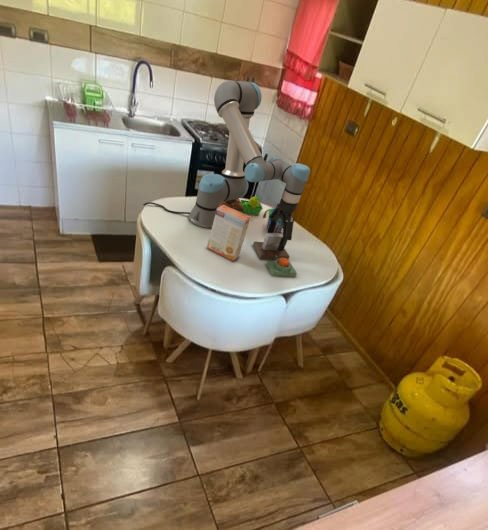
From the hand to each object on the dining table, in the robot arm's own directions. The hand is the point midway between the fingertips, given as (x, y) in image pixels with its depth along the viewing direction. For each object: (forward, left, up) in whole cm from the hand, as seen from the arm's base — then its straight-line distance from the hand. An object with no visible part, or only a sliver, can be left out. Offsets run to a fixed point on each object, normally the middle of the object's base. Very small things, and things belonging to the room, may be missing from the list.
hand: (274, 242), depth 174 cm
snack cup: (+10, +22, -7) cm, 25 cm away
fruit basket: (+2, +39, -7) cm, 39 cm away
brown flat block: (0, 0, -6) cm, 6 cm away
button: (0, -13, -3) cm, 14 cm away
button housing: (0, -13, -6) cm, 15 cm away
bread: (-12, +40, -7) cm, 42 cm away
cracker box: (-24, -1, -7) cm, 25 cm away
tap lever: (0, 0, -4) cm, 4 cm away
